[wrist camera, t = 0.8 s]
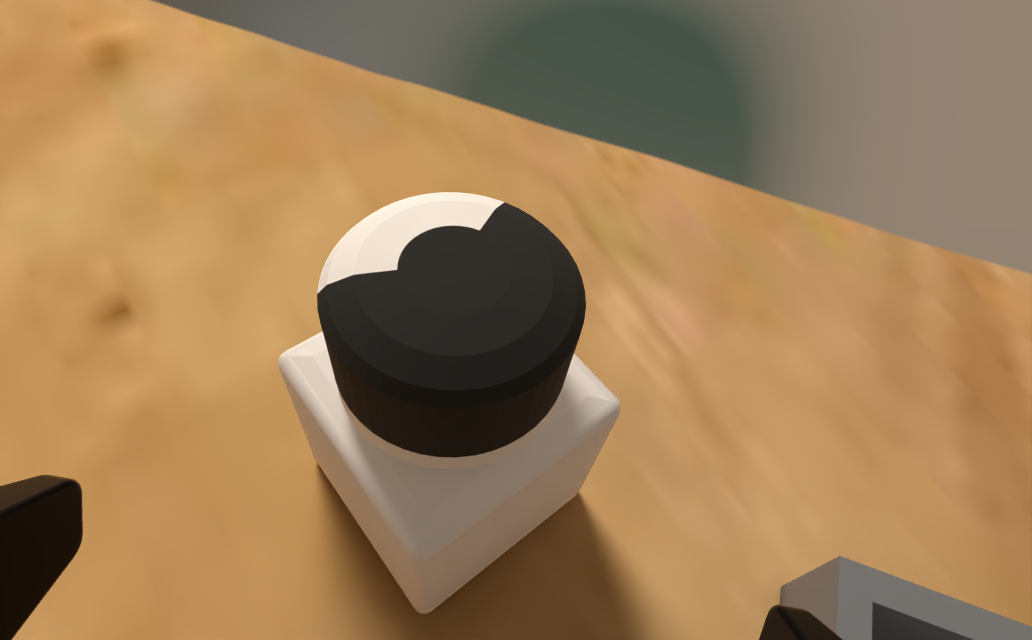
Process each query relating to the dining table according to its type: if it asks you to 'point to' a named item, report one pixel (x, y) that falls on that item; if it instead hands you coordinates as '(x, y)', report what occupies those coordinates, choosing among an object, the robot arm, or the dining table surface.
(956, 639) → the open-top box
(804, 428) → the dining table surface
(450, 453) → the medicine bottle
